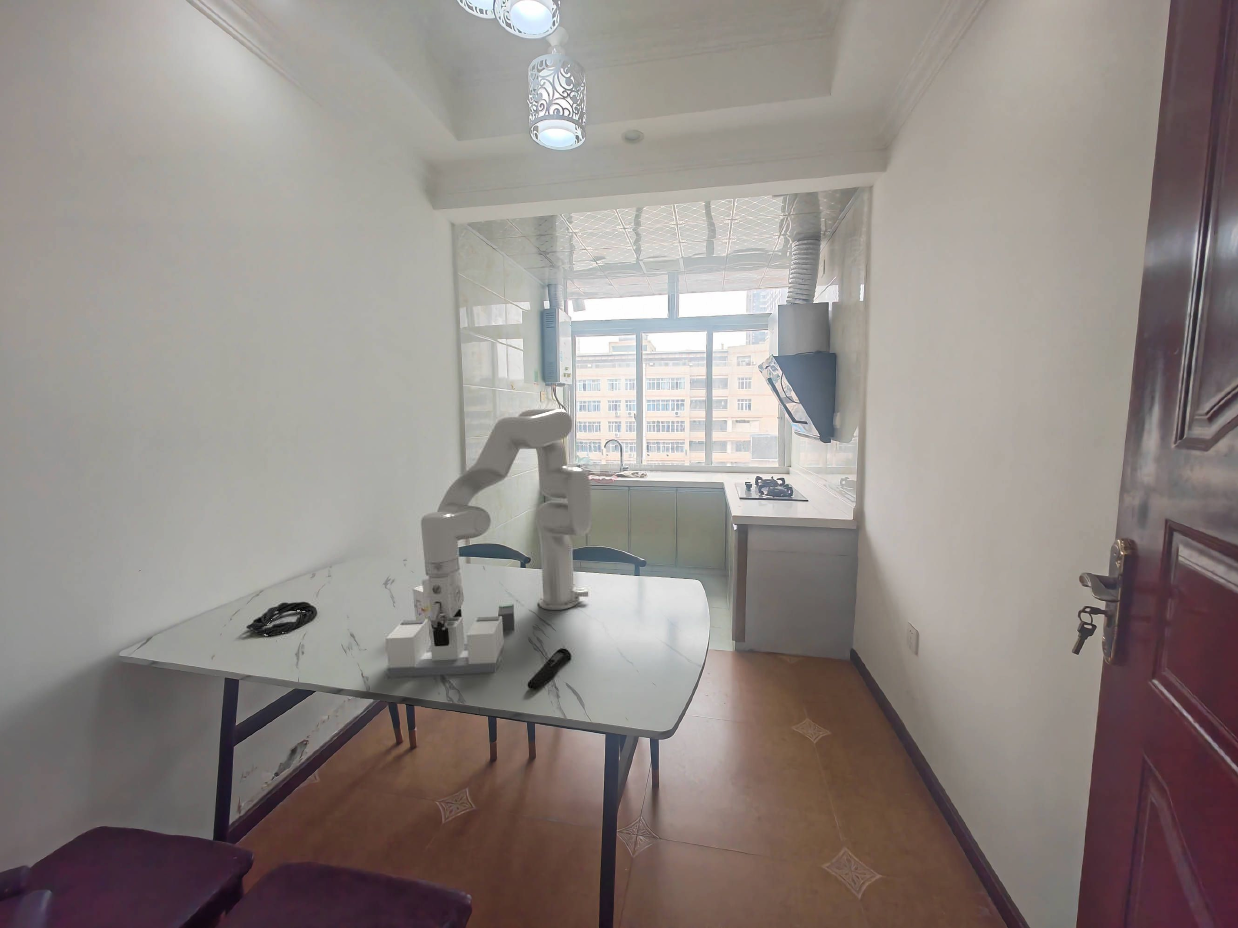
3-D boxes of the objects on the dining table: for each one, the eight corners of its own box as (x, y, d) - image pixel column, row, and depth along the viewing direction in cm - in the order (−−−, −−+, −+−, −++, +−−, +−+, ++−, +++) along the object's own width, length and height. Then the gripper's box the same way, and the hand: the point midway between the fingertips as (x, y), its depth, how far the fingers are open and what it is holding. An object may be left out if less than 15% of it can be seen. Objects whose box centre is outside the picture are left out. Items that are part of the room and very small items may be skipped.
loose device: (514, 620, 131) (513, 603, 130) (514, 630, 125) (513, 611, 124) (500, 622, 130) (499, 604, 129) (499, 632, 124) (498, 613, 124)
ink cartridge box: (441, 616, 135) (438, 568, 133) (452, 620, 132) (449, 571, 130) (415, 628, 127) (411, 577, 126) (426, 633, 125) (422, 580, 123)
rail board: (504, 649, 115) (502, 614, 114) (495, 672, 105) (492, 633, 104) (406, 654, 114) (403, 618, 113) (388, 677, 104) (384, 638, 103)
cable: (294, 609, 144) (293, 596, 143) (333, 611, 141) (331, 598, 141) (240, 635, 127) (238, 620, 127) (283, 638, 124) (281, 623, 124)
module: (464, 648, 112) (462, 615, 111) (458, 659, 107) (455, 625, 106) (439, 649, 111) (437, 616, 111) (432, 660, 107) (429, 626, 106)
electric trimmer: (522, 693, 97) (521, 679, 97) (559, 655, 111) (558, 643, 111) (538, 697, 96) (537, 683, 95) (573, 658, 110) (572, 646, 110)
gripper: (446, 578, 98) (453, 653, 100) (469, 552, 115) (475, 617, 118) (411, 580, 98) (418, 655, 100) (439, 554, 115) (445, 618, 117)
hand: (449, 634), depth 109 cm, fingers open, 9 cm apart
